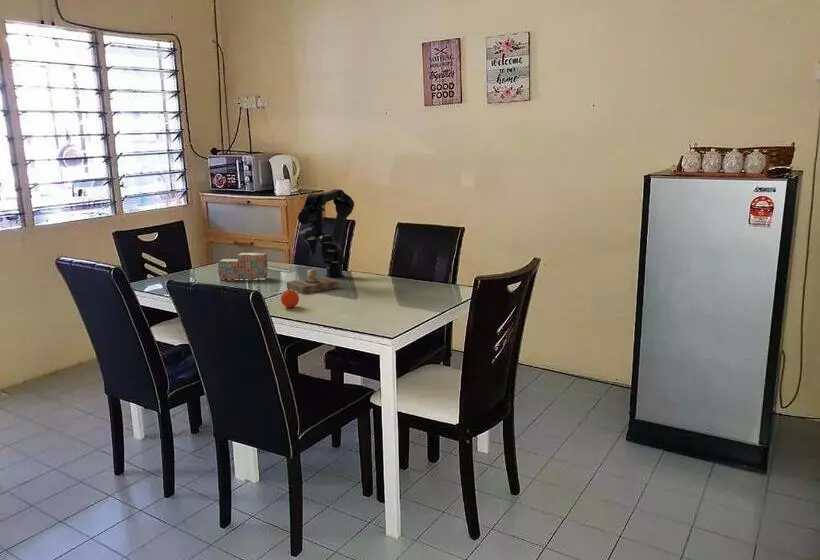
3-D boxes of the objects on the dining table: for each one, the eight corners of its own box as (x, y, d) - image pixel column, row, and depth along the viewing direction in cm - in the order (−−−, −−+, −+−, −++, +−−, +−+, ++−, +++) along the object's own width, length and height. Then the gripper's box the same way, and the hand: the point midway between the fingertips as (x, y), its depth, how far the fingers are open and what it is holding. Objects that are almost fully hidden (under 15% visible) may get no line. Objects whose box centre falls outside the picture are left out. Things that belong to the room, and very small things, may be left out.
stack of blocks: (219, 280, 304) (217, 254, 302) (224, 278, 311) (222, 252, 308) (264, 280, 303) (263, 254, 301) (268, 278, 309) (266, 252, 307)
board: (322, 282, 296) (322, 276, 295) (338, 287, 285) (338, 281, 285) (286, 288, 285) (286, 281, 285) (302, 294, 274) (302, 287, 274)
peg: (314, 286, 288) (313, 269, 286) (319, 288, 285) (318, 270, 283) (306, 288, 286) (305, 270, 284) (311, 289, 282) (310, 271, 281)
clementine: (293, 303, 258) (292, 286, 257) (305, 306, 254) (304, 288, 252) (277, 307, 252) (276, 290, 251) (289, 310, 248) (288, 292, 246)
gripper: (290, 221, 295) (292, 255, 298) (311, 225, 281) (312, 260, 284) (312, 219, 302) (313, 252, 305) (333, 223, 287) (334, 257, 290)
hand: (318, 256), depth 296 cm, fingers open, 9 cm apart
